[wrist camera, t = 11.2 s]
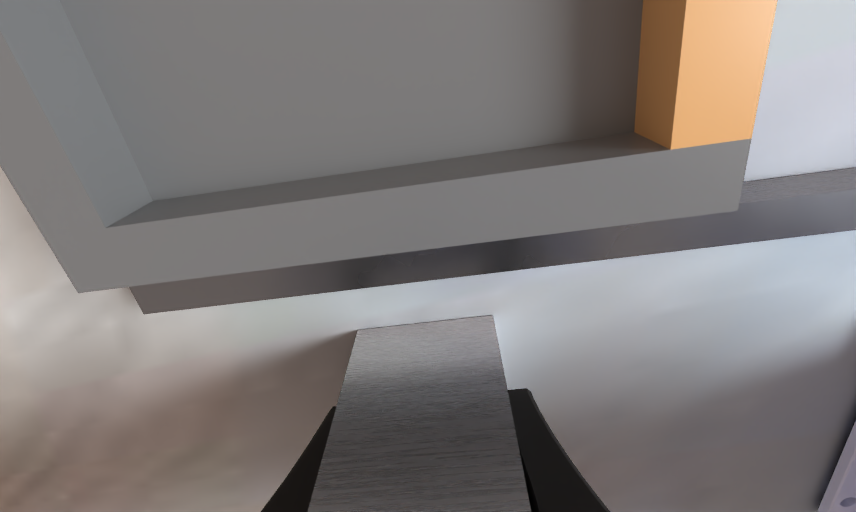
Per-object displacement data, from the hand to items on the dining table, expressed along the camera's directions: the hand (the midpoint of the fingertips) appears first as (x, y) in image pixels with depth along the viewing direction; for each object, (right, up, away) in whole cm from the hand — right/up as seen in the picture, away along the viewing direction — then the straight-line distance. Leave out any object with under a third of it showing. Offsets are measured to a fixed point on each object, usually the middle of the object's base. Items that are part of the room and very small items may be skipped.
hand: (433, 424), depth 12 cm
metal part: (0, +1, +2) cm, 2 cm away
